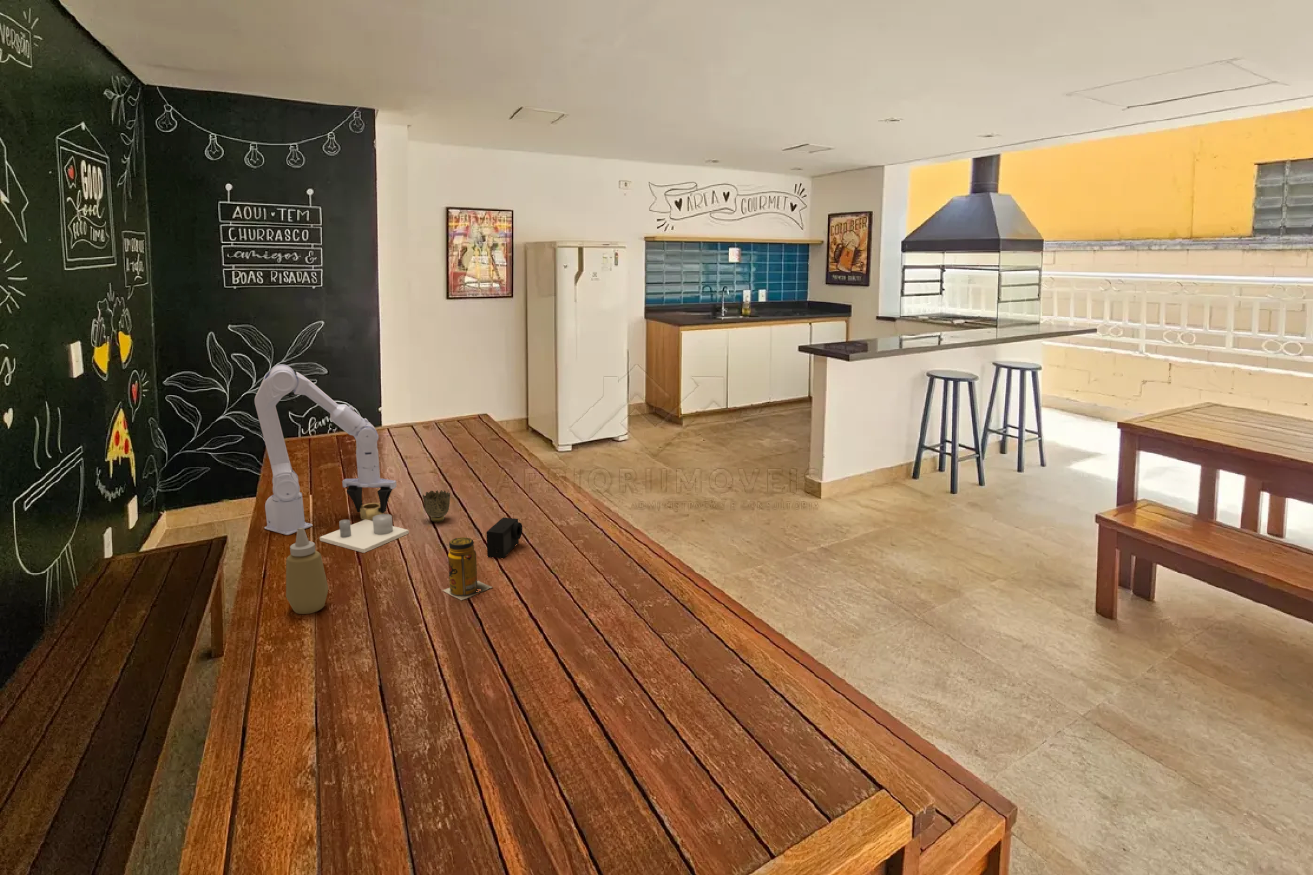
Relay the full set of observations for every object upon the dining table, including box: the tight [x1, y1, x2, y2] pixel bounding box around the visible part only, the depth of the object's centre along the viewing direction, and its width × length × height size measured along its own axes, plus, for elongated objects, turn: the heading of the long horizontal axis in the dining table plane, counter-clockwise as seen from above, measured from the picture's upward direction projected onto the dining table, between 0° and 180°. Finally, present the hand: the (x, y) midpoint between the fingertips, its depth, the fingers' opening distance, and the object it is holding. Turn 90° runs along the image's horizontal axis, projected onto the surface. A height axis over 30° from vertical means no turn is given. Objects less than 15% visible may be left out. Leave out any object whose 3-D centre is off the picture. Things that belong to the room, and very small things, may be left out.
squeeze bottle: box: [285, 527, 329, 615], centre depth 149 cm, size 8×8×18 cm
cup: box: [422, 489, 451, 523], centre depth 201 cm, size 8×7×8 cm
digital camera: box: [486, 517, 523, 559], centre depth 182 cm, size 10×5×7 cm, turn 169°
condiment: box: [442, 536, 493, 601], centre depth 160 cm, size 7×8×12 cm
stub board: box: [319, 513, 409, 554], centre depth 189 cm, size 16×15×5 cm
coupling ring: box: [359, 502, 384, 521], centre depth 203 cm, size 6×6×3 cm
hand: (371, 511), depth 203 cm, fingers closed on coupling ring, 6 cm apart
